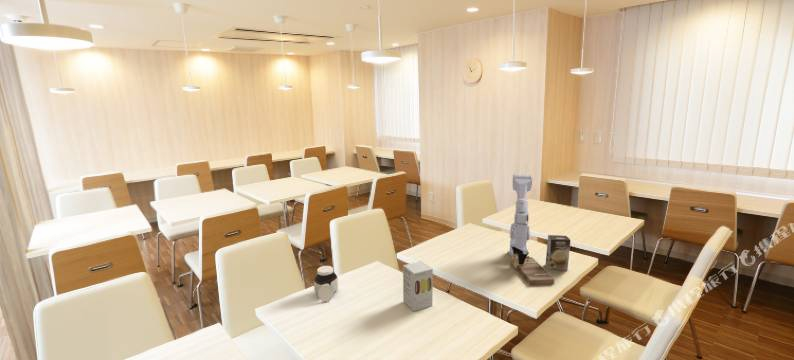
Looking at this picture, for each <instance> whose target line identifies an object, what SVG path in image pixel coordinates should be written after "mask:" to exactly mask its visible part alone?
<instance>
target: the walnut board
mask: <svg viewBox="0 0 794 360" xmlns="http://www.w3.org/2000/svg"><path fill="white" fill-rule="evenodd" d="M510 260H511V261H510V263H511V264H512V257H511V259H510ZM515 269H516V270H517V271H518V273H519V274H520V275H521V276H522V278H524V279H525V281H526V282H527V283H528V284H529V285H530V286H541V285H554V284H555V279H554V277H553V276H552V275H551V274H550V273H549V272H548V271H547V270H546V269H545V268H544V267H543V266H542V265H541V264H539V263H538V261H537V260H536V259H535V258H534V257H532V256H531V257H530V256H529V258H528V262H527V258H526V259H525V265H517V268H515Z"/></svg>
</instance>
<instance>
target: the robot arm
mask: <svg viewBox="0 0 794 360" xmlns="http://www.w3.org/2000/svg"><path fill="white" fill-rule="evenodd" d="M532 186H533V175H532V174H515V173H513V175H512V190H513V191H515V192H516V195H517V196H516V198H517V199H516V202H515V213H514V217H513V221H514V222H513V223H512V224H511V225H510V229H509V239H510V241H509V250H507V253H509V255H510V256H511V257H512V254H517V255H518V262H519V265H523V264H524V261H525V259H526V257H527V256H529V254H530V252H529V250H528V245H527V242H528V241H529V240H530V234H531V233H530V232H531V231H530V225H529V220H530V215H529V210H528V209H529V207H528V206H529V204H528V203H529V202H528V201H527V200H526V198H527V192H530V191H531V190H532Z"/></svg>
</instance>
